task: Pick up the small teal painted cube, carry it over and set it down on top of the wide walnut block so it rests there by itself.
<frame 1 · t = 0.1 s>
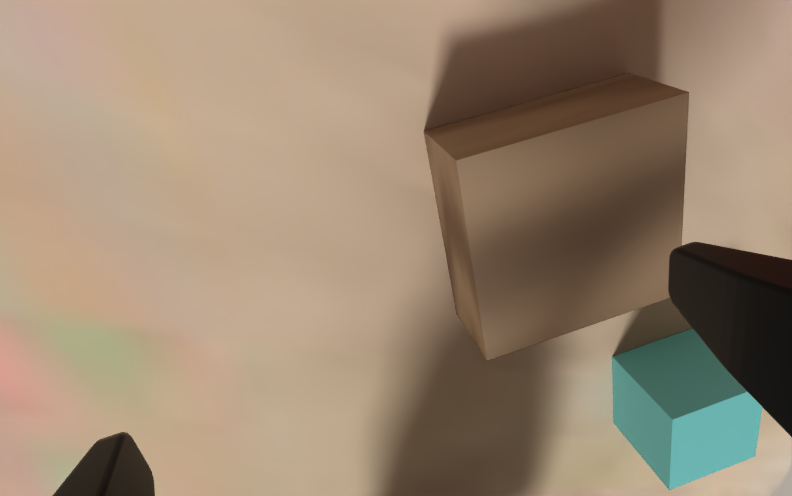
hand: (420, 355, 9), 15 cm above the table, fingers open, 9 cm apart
teal cube: (652, 375, 34), on the table
walnut block: (533, 197, 27), on the table
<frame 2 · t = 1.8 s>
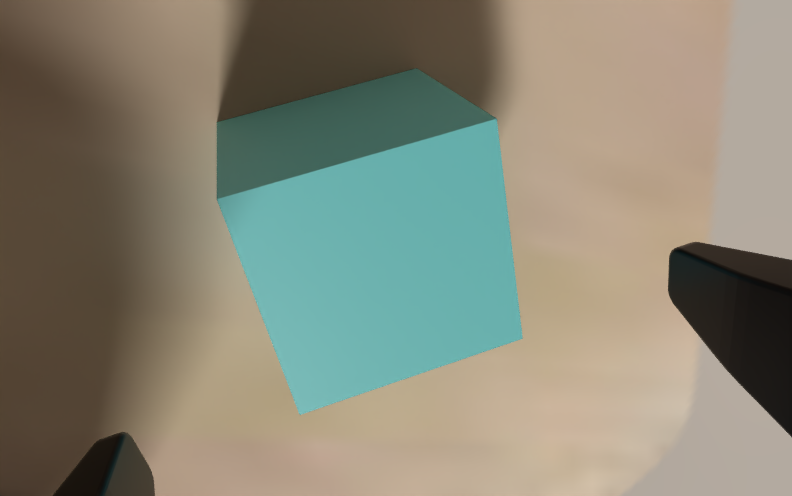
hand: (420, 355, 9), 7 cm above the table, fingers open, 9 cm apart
teal cube: (343, 186, 16), on the table
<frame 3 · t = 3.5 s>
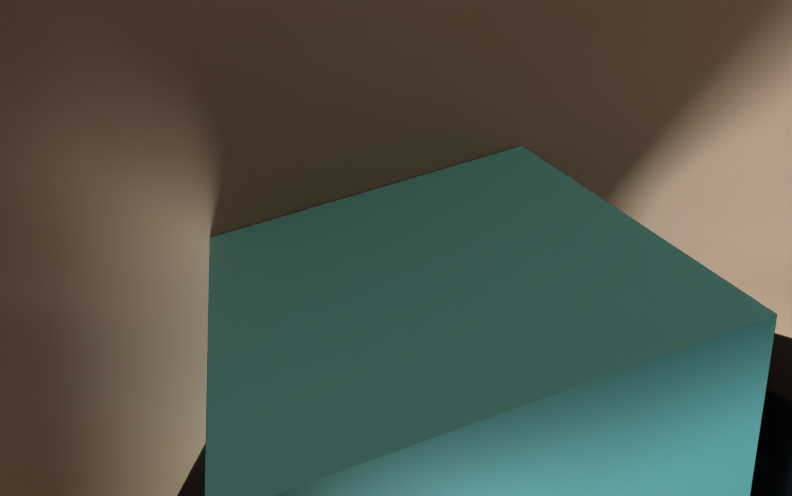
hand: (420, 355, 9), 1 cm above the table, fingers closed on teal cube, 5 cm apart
teal cube: (402, 319, 10), on the table, touching gripper
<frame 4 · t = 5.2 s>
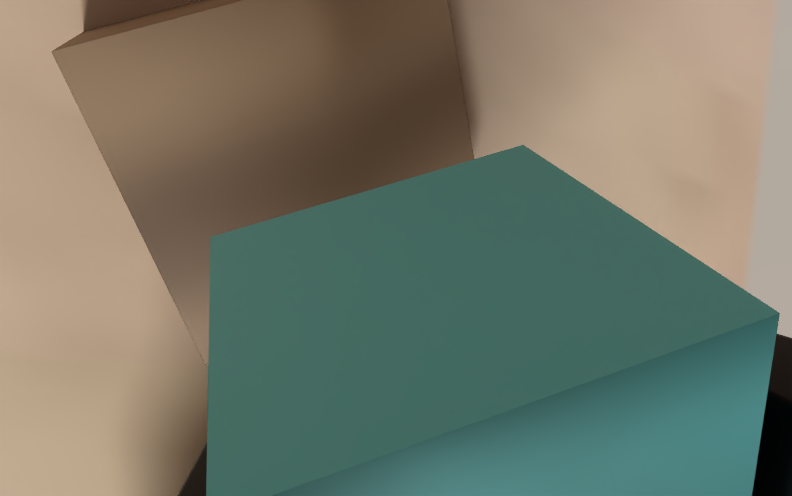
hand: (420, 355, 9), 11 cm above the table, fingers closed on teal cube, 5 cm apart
teal cube: (403, 319, 10), point 10 cm above the table, touching gripper
walnut block: (293, 136, 19), on the table
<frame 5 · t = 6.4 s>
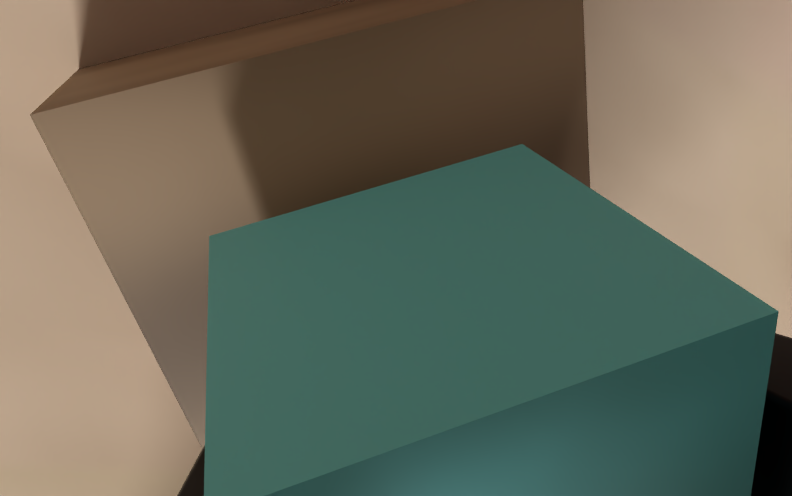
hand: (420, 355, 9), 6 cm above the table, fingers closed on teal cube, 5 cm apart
teal cube: (402, 318, 10), point 5 cm above the table, touching gripper
walnut block: (344, 199, 15), on the table
when the fingers open (6 cm above the table, at t = 6.9 s): teal cube drops 2 cm, resting on walnut block.
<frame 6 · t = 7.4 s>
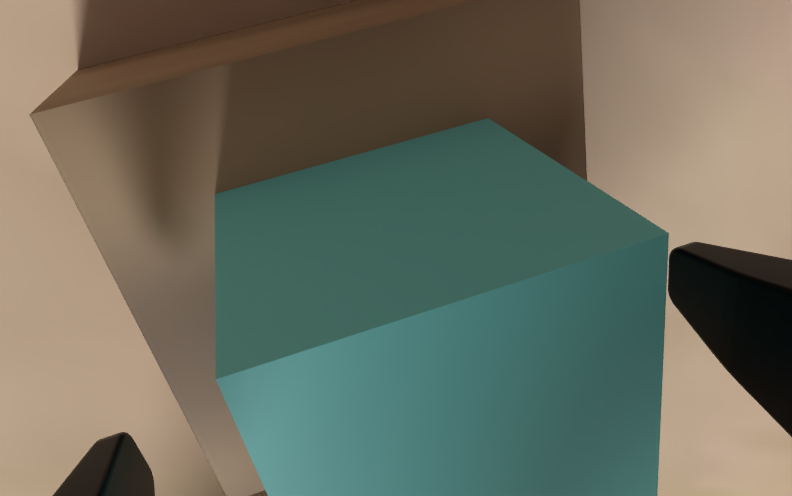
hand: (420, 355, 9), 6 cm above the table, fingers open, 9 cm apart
teal cube: (383, 273, 12), point 4 cm above the table, touching walnut block
walnut block: (342, 199, 15), on the table, touching teal cube
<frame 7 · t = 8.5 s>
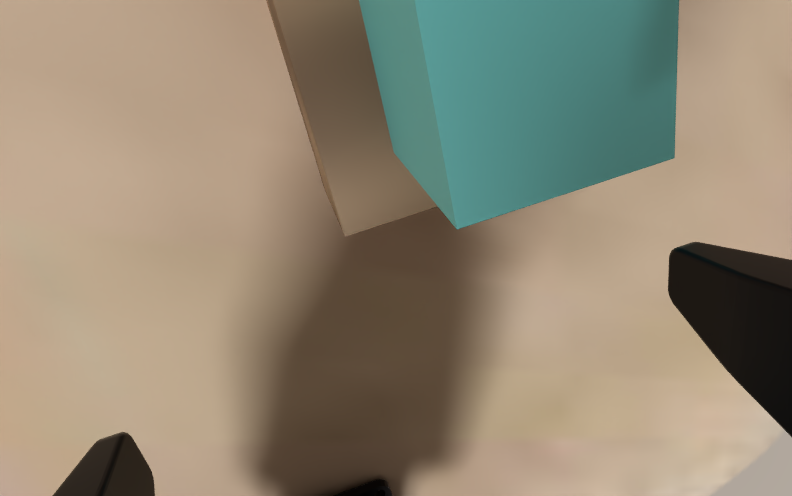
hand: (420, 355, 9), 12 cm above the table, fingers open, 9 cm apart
teal cube: (464, 35, 16), point 4 cm above the table, touching walnut block
walnut block: (420, 16, 19), on the table, touching teal cube
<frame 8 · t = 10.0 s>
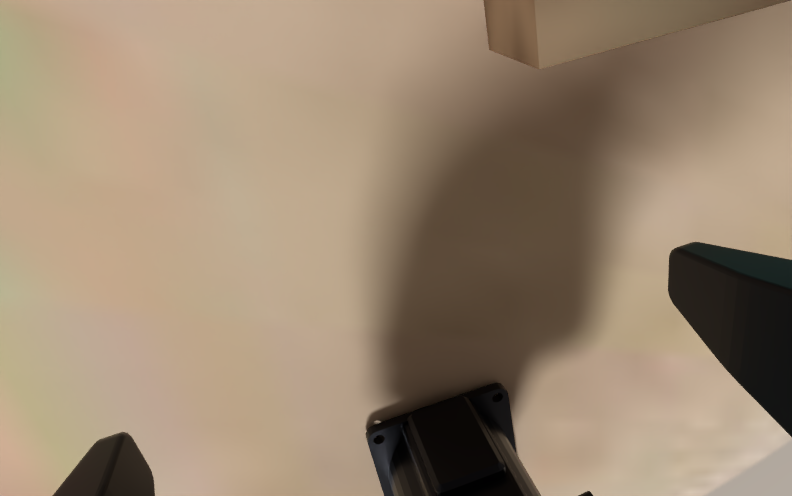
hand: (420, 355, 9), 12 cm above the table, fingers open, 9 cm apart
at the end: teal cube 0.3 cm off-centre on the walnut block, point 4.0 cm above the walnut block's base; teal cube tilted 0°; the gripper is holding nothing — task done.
